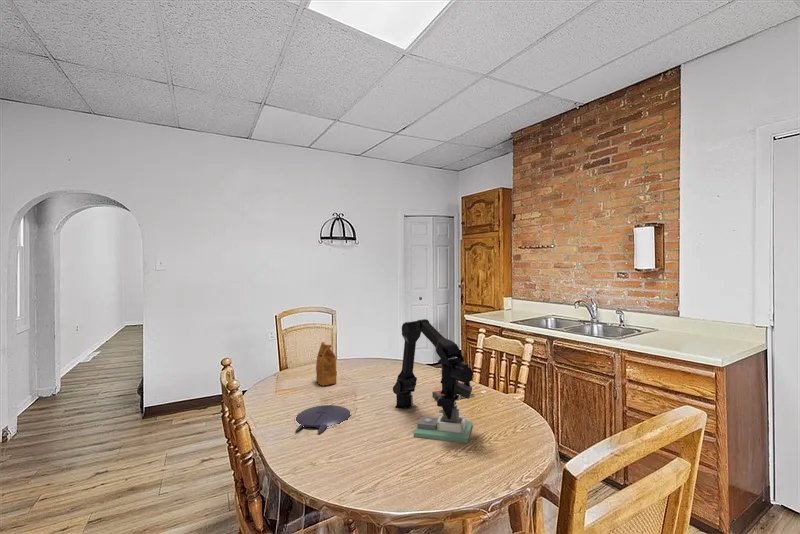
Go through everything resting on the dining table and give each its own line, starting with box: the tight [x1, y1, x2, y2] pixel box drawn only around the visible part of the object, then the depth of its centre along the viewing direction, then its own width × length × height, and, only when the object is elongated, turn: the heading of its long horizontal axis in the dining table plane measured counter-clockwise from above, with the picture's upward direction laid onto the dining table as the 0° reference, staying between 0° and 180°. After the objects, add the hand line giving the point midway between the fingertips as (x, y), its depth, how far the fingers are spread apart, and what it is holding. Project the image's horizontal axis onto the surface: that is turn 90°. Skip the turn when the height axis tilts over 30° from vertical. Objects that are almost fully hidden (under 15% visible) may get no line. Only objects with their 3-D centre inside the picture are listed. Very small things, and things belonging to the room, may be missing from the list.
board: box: [413, 414, 473, 444], centre depth 146 cm, size 20×15×4 cm
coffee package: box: [315, 341, 337, 387], centre depth 208 cm, size 10×12×22 cm
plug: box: [438, 405, 460, 423], centre depth 145 cm, size 7×3×7 cm, turn 73°
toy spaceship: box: [295, 404, 352, 434], centre depth 160 cm, size 28×24×3 cm
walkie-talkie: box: [432, 389, 476, 401], centre depth 182 cm, size 9×4×20 cm
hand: (450, 417), depth 145 cm, fingers open, 3 cm apart
